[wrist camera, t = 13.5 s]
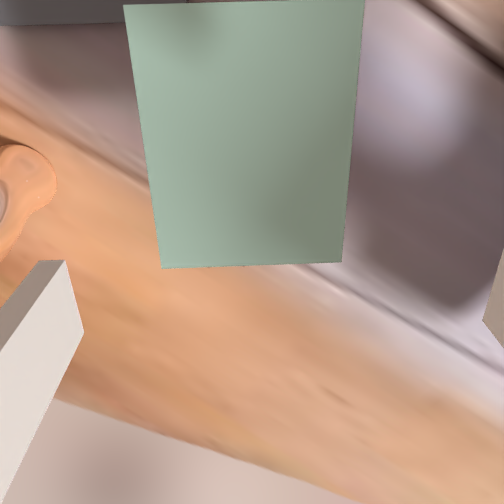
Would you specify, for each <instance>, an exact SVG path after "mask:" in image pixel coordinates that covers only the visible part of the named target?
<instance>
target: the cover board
mask: <svg viewBox="0 0 504 504" xmlns="http://www.w3.org/2000/svg"><path fill="white" fill-rule="evenodd" d="M364 5H365V0H286V1H248V2H211V3H174V4H137V5H123V9H124V15H125V22H126V29H127V36H128V43H129V49H130V56H131V63H132V70H133V77H134V83H135V90H136V97H137V104H138V111H139V117H140V124H141V131H142V138H143V145H144V152H145V158H146V165H147V172H148V179H149V186H150V192H151V199H152V206H153V213H154V220H155V226H156V233H157V240H158V247H159V254H160V260H161V267H162V269H169V268H196V267H224V266H251V265H279V264H306V263H334V262H342V250H343V239H344V228H345V217H346V206H347V195H348V183H349V172H350V161H351V150H352V139H353V127H354V116H355V105H356V94H357V83H358V72H359V60H360V49H361V38H362V27H363V16H364Z"/></svg>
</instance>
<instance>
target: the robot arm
mask: <svg viewBox="0 0 504 504" xmlns="http://www.w3.org/2000/svg"><path fill="white" fill-rule="evenodd" d="M482 321H483V322H484V323H485V325H486V326H487V327H488V329H489V330H490V331H491V332H492V334H493V335H494V336H495V338H496V339H497V340H498V341H499V343H500V344H501V345H502V347H503V348H504V249H503V252H502V255H501V259H500V262H499V266H498V269H497V272H496V276H495V279H494V283H493V286H492V289H491V293H490V296H489V299H488V303H487V306H486V310H485V313H484V316H483V320H482ZM83 334H84V330H83V326H82V322H81V319H80V315H79V311H78V307H77V304H76V300H75V296H74V292H73V288H72V285H71V281H70V277H69V273H68V270H67V266H66V262H65V260H45V261H38V263H37V264H36V265H35V266H34V268H33V269H32V270H31V271H30V273H29V274H28V275H27V276H26V278H25V279H24V280H23V281H22V283H21V284H20V285H19V286H18V287H17V289H16V290H15V291H14V292H13V294H12V295H11V296H10V297H9V299H8V300H7V301H6V302H5V304H4V305H3V306H2V307H1V309H0V504H1V503H2V501H3V498H4V496H5V494H6V492H7V490H8V488H9V486H10V484H11V482H12V480H13V478H14V476H15V474H16V472H17V470H18V468H19V466H20V464H21V461H22V459H23V457H24V455H25V453H26V451H27V449H28V447H29V445H30V443H31V441H32V438H33V436H34V435H35V433H36V431H37V429H38V427H39V425H40V423H41V420H42V418H43V416H44V414H45V412H46V410H47V408H48V406H49V404H50V402H51V400H52V398H53V396H54V394H55V392H56V390H57V388H58V386H59V383H60V381H61V379H62V377H63V375H64V373H65V371H66V369H67V367H68V365H69V363H70V361H71V359H72V357H73V355H74V353H75V351H76V349H77V346H78V344H79V342H80V340H81V338H82V336H83Z"/></svg>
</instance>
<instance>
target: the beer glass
mask: <svg viewBox="0 0 504 504" xmlns="http://www.w3.org/2000/svg"><path fill="white" fill-rule="evenodd" d="M56 189H57V180H56V175H55V172H54V170H53V168H52V166H51V165H50V163H49V162H48V161H47V160H46V159H45V158H44V157H43V156H42V155H41V154H40V153H38V152H37V151H35V150H33V149H31V148H29V147H27V146H23V145H18V144H8V145H3V146H0V263H1V262H2V260H3V259H4V258H5V257H6V256H7V254H8V253H9V252H10V250H11V249H12V247H13V246H14V244H15V242H16V241H17V239H18V237H19V235H20V233H21V231H22V229H23V227H24V225H25V223H26V221H27V219H28V218H29V216H30V215H31V214H32V213H33V212H35V211H37V210H39V209H41V208H42V207H44V206H46V205H47V204H48V203H49V202H50V201H51V200H52V199H53V197H54V195H55V193H56Z"/></svg>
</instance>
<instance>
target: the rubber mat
mask: <svg viewBox="0 0 504 504" xmlns="http://www.w3.org/2000/svg"><path fill="white" fill-rule="evenodd" d="M174 3H187V0H0V26H17V25H52V24H87V23H122V22H125V15H124V9H123V5H137V4H174Z"/></svg>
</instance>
